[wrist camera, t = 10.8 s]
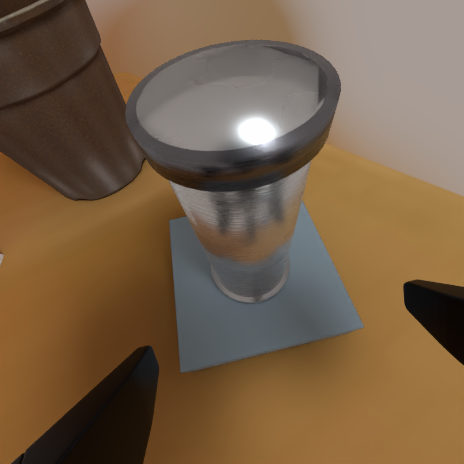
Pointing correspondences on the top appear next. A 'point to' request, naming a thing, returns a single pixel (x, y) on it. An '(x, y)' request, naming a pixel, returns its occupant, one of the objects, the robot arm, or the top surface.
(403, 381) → the top surface
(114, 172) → the plant pot
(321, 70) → the glass shaker
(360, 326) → the stand
